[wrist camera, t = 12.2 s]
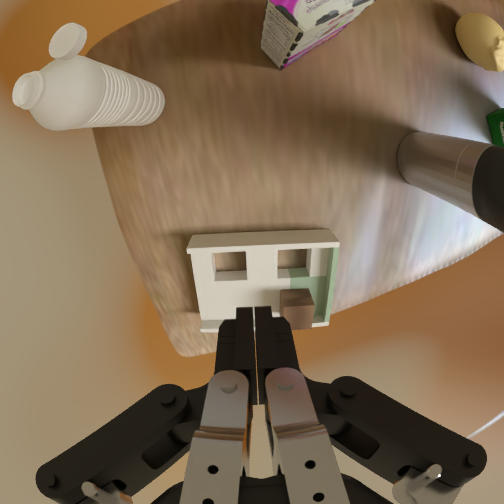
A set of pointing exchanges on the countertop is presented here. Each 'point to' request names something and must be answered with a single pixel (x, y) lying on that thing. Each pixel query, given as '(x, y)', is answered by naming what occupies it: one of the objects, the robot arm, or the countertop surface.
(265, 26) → the candy bar box
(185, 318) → the countertop surface
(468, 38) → the sculpture
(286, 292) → the walnut block
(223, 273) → the track
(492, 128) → the milk carton
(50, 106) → the water bottle
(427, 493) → the robot arm
